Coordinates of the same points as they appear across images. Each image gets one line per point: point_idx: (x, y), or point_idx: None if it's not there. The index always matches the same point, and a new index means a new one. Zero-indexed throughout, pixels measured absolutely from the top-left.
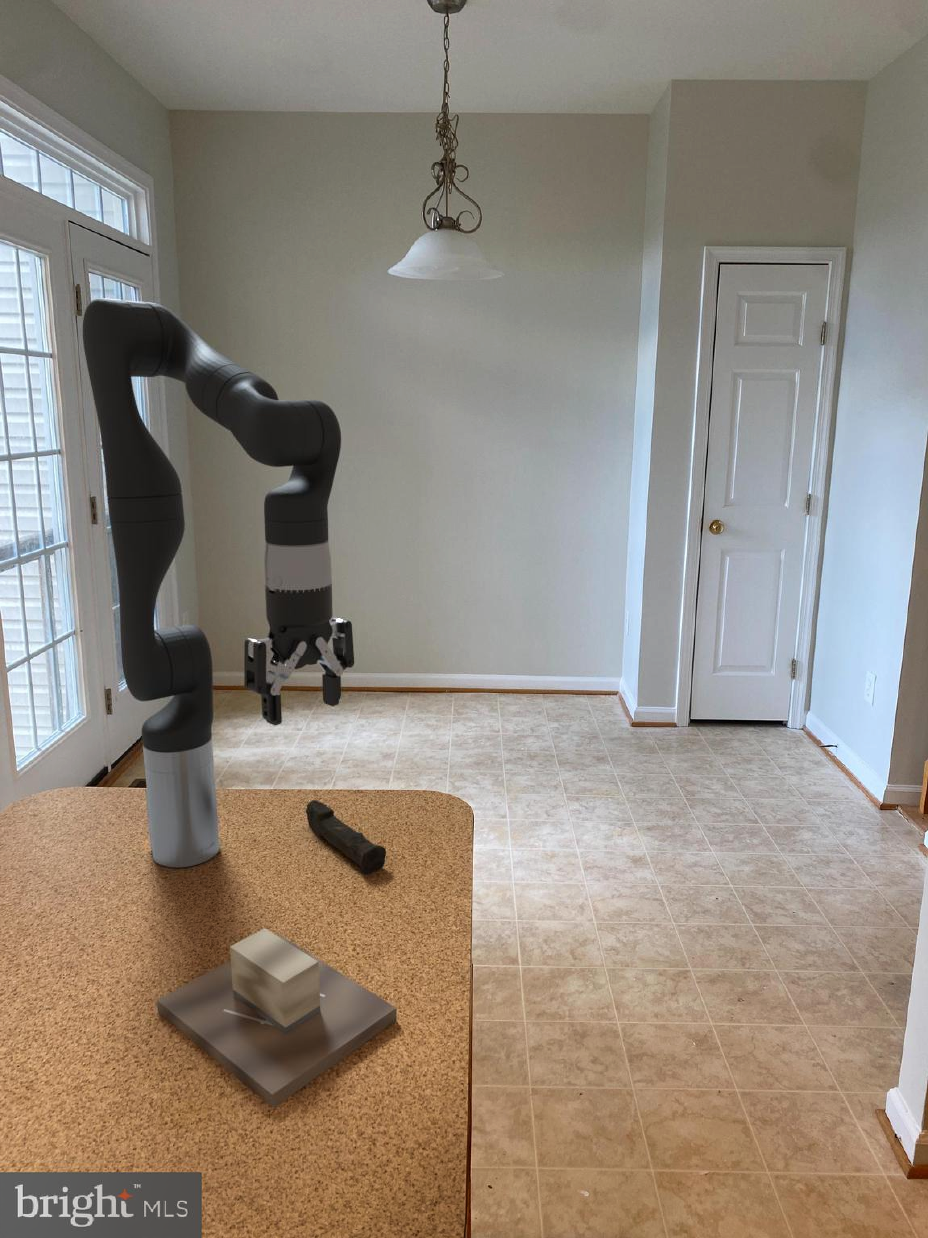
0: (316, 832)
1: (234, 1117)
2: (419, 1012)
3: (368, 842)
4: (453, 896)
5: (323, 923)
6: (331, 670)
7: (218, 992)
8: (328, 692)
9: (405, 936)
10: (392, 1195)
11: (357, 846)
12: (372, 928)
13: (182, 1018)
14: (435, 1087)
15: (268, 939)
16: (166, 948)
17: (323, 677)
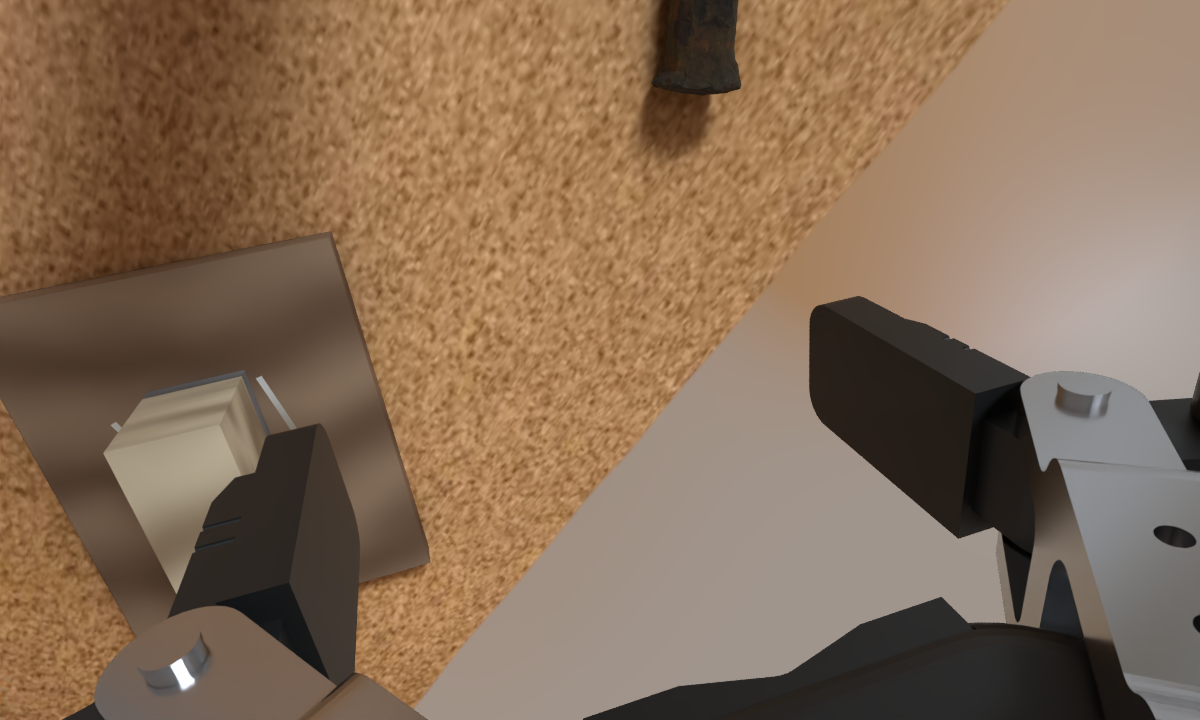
0: None
1: (79, 619)
2: (472, 546)
3: (725, 36)
4: (742, 293)
5: (462, 213)
6: (1005, 580)
7: (115, 365)
8: (866, 398)
9: (580, 357)
10: None
11: (691, 29)
12: (542, 296)
13: (9, 404)
14: (401, 676)
15: (211, 470)
16: (34, 52)
17: (950, 398)
